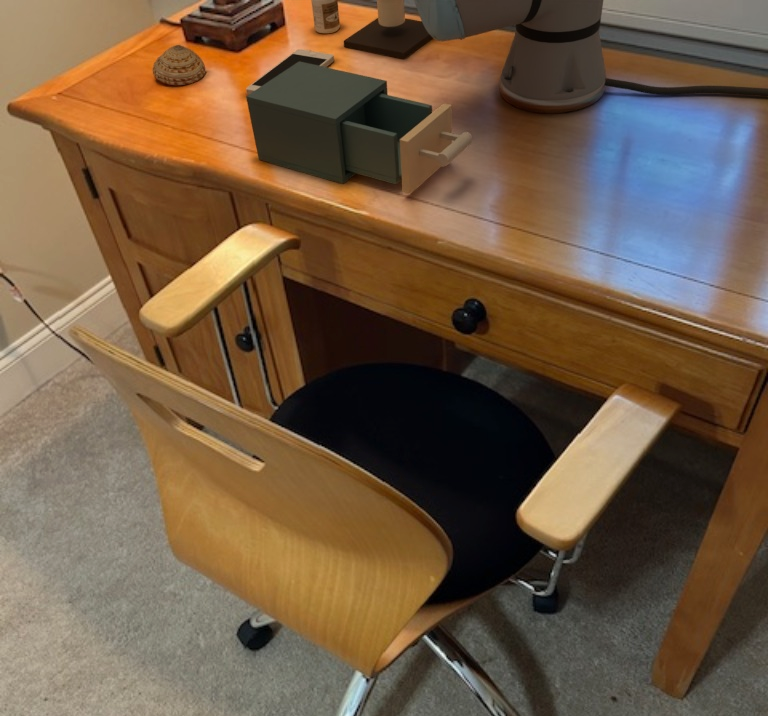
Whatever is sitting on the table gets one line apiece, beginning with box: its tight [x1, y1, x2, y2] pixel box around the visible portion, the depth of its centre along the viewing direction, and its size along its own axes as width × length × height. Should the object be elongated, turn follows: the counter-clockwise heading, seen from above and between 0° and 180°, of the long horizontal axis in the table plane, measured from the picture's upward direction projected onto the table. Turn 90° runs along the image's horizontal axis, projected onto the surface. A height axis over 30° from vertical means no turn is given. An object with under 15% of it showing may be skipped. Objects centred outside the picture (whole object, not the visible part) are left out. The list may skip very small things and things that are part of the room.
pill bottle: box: [310, 0, 341, 34], centre depth 134 cm, size 4×4×8 cm
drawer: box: [340, 93, 473, 195], centre depth 102 cm, size 18×10×7 cm, turn 56°
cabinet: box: [245, 61, 389, 185], centre depth 107 cm, size 15×12×9 cm
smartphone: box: [245, 48, 335, 95], centre depth 126 cm, size 7×16×1 cm, turn 151°
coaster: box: [343, 17, 434, 60], centre depth 132 cm, size 12×12×1 cm
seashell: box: [152, 44, 206, 86], centre depth 129 cm, size 8×6×8 cm
